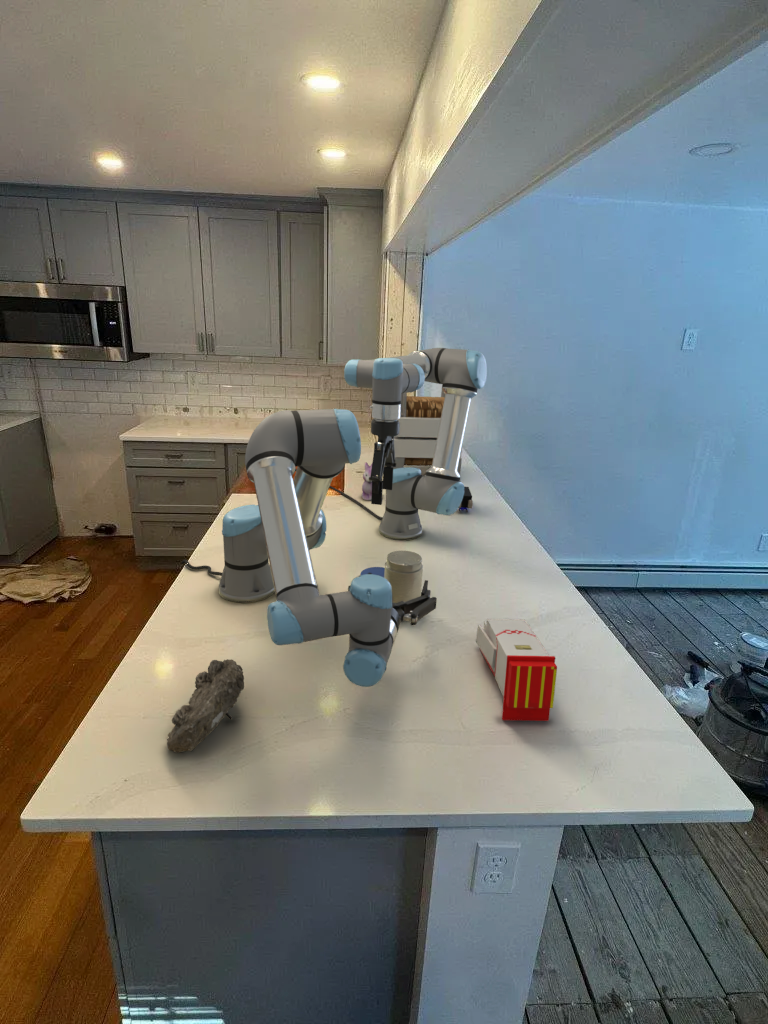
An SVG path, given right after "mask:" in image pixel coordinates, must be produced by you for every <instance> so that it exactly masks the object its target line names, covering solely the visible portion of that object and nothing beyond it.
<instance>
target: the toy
mask: <svg viewBox="0 0 768 1024" xmlns="http://www.w3.org/2000/svg"><path fill="white" fill-rule="evenodd" d="M476 629H477V631H476V638H475V642H476V645H477V646H478V648H479V650H480V652H481V654H482V656H483V658H484V660H485V661H486V664H487V666H488V668H489V669H490V671H491V672H492V675H493V676H494V679H495V681H496V685H497V686H498V688H499V690H500V692H501V695H502V697H503V701H502V712H501V720H502V721H521V722H523V721H526V722H528V721H529V722H550V712H551V709H554V702H555V692H556V681H557V673H558V665H557V664H556V656H555V655H550V654H549V652H548V651H547V650H546V648H545V647H544V645H543V644H542V642H541V641H540V639H539V638H538V637H537V635H536V634H535V632H534V631H533V629H532V627H531V625H530V624H528V623H527V621H526V619H521V618H518V619H515V618H513V619H512V618H486V620H484V621H483V626H482V625H481V624H477V628H476Z"/></svg>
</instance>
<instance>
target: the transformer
mask: <svg viewBox="0 0 768 1024" xmlns="http://www.w3.org/2000/svg"><path fill="white" fill-rule="evenodd" d="M440 393H441V394H440V396H415V395H414V396H413V395H412V396H411V395H407V394H408V393H403V394H401V413H400V419H398V420H399V422H400V428H399V434H398V435H397V436H394V448H395V463H396V467H393V469H397V468H405V466H406V467H409V466H411V467H417V466H418V467H431V466H432V462H433V457H434V452H435V446H436V441H437V436H438V430H439V425H440V420H441V414H442V409H443V404H444V398H445V393H444V392H443V390H442V389H441V392H440ZM462 453H463V447H462V448H461V453H460V459H459V464H458V469H457V471H458V473H459V475H460V476H461V472H462V461H463V460H462Z"/></svg>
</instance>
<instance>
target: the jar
mask: <svg viewBox="0 0 768 1024" xmlns="http://www.w3.org/2000/svg"><path fill="white" fill-rule="evenodd" d="M384 568H385V573H384V578H385V579H387V580H388V581H389V583H390V584H391V587H392V603H398V602H401V601H404V602H406V601H409V600H412V599H414V598H417V597H420V596H421V592H422V588H423V572H424V564H423V556H421V554H419V553H417V552H414V551H410V550H394V551H391V552H389V553H388V554H387V555H386V561H385V562H384ZM403 622H407V621H406V620H404V621H403Z"/></svg>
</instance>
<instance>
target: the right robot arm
mask: <svg viewBox="0 0 768 1024" xmlns="http://www.w3.org/2000/svg"><path fill="white" fill-rule="evenodd" d="M343 372H344V373H343V377H344V381H345V382H346V385H348V386H350V387H356V388H362V389H363V388H364V389H371V390H372V391H371V392H372V394H371V405H369V409H370V410H371V418H372V419H371V421H370V433H371V434H372V435H374V436H377V441H375V442H374V444H373V447H374V448H373V456H372V463H371V464H372V469H371V476H370V477H369V480H370V481H372V497H371V500H370V504H371V505H375V506H382V504H383V490H385V504H384V505H385V507H384V508H385V509H384V513H383V515H382V516H380V515H378V514H376V513H375V512H373V511H372V510H371V509H369V508H368V507H366V505H364V504H362V503H361V502H360V501H358V500H357V499H356V498H353V497H352V496H350V495H349V494H347V493H345V492H343V491H342V490H339V489H338V488H335V487H334V486H331V485H330V487H329V489H330V490H333V491H335V492H337V493H339V494H340V495H341V496H344V497H346V499H349V500H350V501H352V502H354V503H355V504H357V505H358V506H360V507H361V508H363V510H365V511H367V512H368V513H369V514H371V515H372V516H374V518H377V519H378V520H380V521H381V522H379V525H378V533H379V534H380V535H381V536H382V537H385V538H387V539H389V540H395V541H410V540H415V539H418V538H420V537H421V536H422V535H423V525H422V524H421V518H420V515H419V510H421V511H425V512H429V513H433V514H434V513H435V514H437V515H443V516H452V515H453V514H455V513H456V512H457V510H459V506H460V504H461V502H462V499H463V496H464V487H465V485H464V483H463V482H461V478H462V477H461V474H460V475H459V473H458V471H457V469H458V464H459V459H460V453H461V448H462V449H463V442H464V437H465V433H466V427H467V423H468V417H469V410H470V406H471V401H472V399H473V398H474V397H475V396H477V394H478V390H481V389H483V388H484V387H485V384H486V382H487V378H488V377H487V375H488V367H487V360H486V357H485V356H484V354H483V353H482V352H481V351H479V350H472V349H465V348H464V349H461V348H449V347H447V348H446V347H433V348H426V349H421V350H414V351H411V352H409V354H407V355H400V356H390V357H377V358H373V359H360V358H359V359H353V358H352V359H350V360H348V361H347V362H346V364H345V366H344V370H343ZM425 382H427V383H431V384H436V385H437V384H438V385H441V391H442V390H443V392H444V393H445V398H444V404H443V409H442V414H441V420H440V425H439V430H438V436H437V441H436V446H435V452H434V457H433V462H432V465H430V466H429V468H428V469H426V471H425V475H424V474H422V470H421V468H419V467H414V466H411V467H409V466H406V467H404V468H397V469H393V467H396V463H395V448H394V436H397V435H398V434H399V428H400V422H399V420H398V419H400V413H401V394H403V393H407V394H408V393H414V392H417V391H418V390H420V389H421V388H422V387H423V386H424V384H425ZM461 454H462V453H461ZM296 470H297V468H296V469H295V472H296ZM375 475H376V476H375Z"/></svg>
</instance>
